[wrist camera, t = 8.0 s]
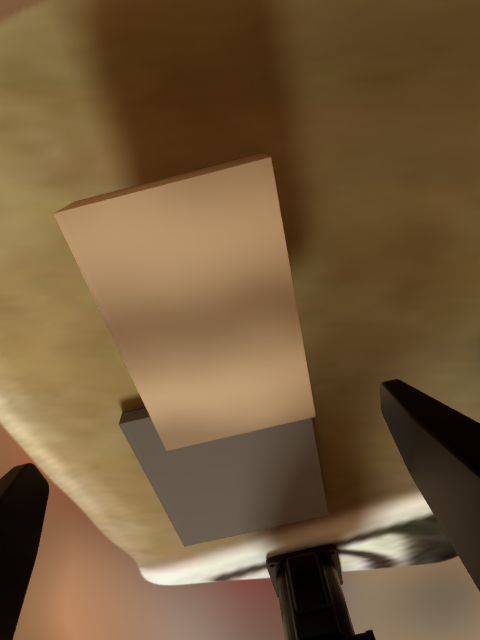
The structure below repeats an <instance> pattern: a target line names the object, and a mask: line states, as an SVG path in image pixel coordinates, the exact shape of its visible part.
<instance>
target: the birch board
mask: <svg viewBox="0 0 480 640" xmlns="http://www.w3.org/2000/svg"><path fill="white" fill-rule="evenodd" d="M54 216H55V218H56V220H57V222H58V224H59V226H60V228H61V230H62V232H63V235H64V237H65V239H66V241H67V243H68V245H69V247H70V249H71V251H72V253H73V256H74V258H75V260H76V262H77V264H78V266H79V268H80V270H81V272H82V275H83V277H84V279H85V281H86V283H87V285H88V287H89V289H90V291H91V293H92V296H93V298H94V300H95V302H96V304H97V306H98V308H99V310H100V312H101V314H102V317H103V319H104V321H105V323H106V325H107V327H108V329H109V331H110V333H111V335H112V338H113V340H114V342H115V344H116V346H117V348H118V350H119V352H120V354H121V356H122V359H123V361H124V363H125V365H126V367H127V369H128V371H129V373H130V375H131V377H132V380H133V382H134V384H135V386H136V388H137V390H138V392H139V394H140V396H141V398H142V401H143V403H144V405H145V407H146V409H147V411H148V413H149V415H150V417H151V419H152V422H153V424H154V426H155V428H156V430H157V432H158V434H159V436H160V438H161V440H162V443H163V445H164V447H165V449H166V451H169V450H173V449H177V448H182V447H186V446H190V445H195V444H199V443H203V442H208V441H212V440H216V439H221V438H225V437H230V436H234V435H238V434H243V433H247V432H251V431H256V430H260V429H264V428H269V427H273V426H277V425H282V424H286V423H290V422H295V421H299V420H304V419H308V418H312V417H316V415H315V409H314V403H313V397H312V391H311V386H310V380H309V374H308V368H307V362H306V357H305V351H304V345H303V339H302V333H301V328H300V322H299V316H298V310H297V304H296V299H295V293H294V287H293V281H292V275H291V270H290V264H289V258H288V252H287V246H286V241H285V235H284V229H283V223H282V218H281V212H280V206H279V200H278V194H277V189H276V183H275V177H274V171H273V165H272V160H271V157H270V156H268V155H266V154H264V153H260V154H256V155H252V156H248V157H245V158H241V159H237V160H233V161H229V162H225V163H222V164H218V165H214V166H210V167H206V168H202V169H199V170H195V171H191V172H187V173H183V174H179V175H175V176H172V177H168V178H164V179H160V180H156V181H152V182H149V183H145V184H141V185H137V186H133V187H129V188H125V189H122V190H118V191H114V192H110V193H106V194H102V195H99V196H95V197H91V198H87V199H83V200H79V201H75V202H73V203H71V204H69V205H68V206H66V207H64V208H62V209H61V210H59V211H57V212H55V213H54Z"/></svg>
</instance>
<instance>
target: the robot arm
mask: <svg viewBox="0 0 480 640" xmlns="http://www.w3.org/2000/svg"><path fill="white" fill-rule="evenodd" d="M380 398H381V410H382V414H383V416H384V419H385V421H386V423H387V425H388V427H389V430H390V432H391V434H392V436H393V438H394V441H395V443H396V445H397V447H398V449H399V452H400V454H401V456H402V458H403V460H404V463H405V465H406V467H407V469H408V471H409V473H410V475H411V476H412V478H413V480H414V482H415V484H416V485H417V487H418V489H419V490H420V492H421V494H422V495H423V497H424V499H425V500H426V502H427V504H428V505H429V507H430V509H431V510H432V512H433V514H434V515H435V517H436V519H437V521H438V522H439V524H440V526H441V527H442V529H443V531H444V532H445V534H446V536H447V537H448V539H449V541H450V542H451V544H452V546H453V547H454V549H455V551H456V552H457V554H458V556H459V557H460V559H461V561H462V563H463V564H464V566H465V567H466V569H467V571H468V573H469V574H470V576H471V578H472V579H473V581H474V583H475V584H476V586H477V588H478V589H479V591H480V423H478V422H476V421H474V420H473V419H471V418H469V417H467V416H465V415H463V414H461V413H460V412H458V411H456V410H454V409H452V408H450V407H449V406H447V405H445V404H443V403H441V402H439V401H438V400H436V399H434V398H432V397H430V396H428V395H426V394H425V393H423V392H421V391H419V390H417V389H415V388H414V387H412V386H410V385H408V384H406V383H404V382H402V381H401V380H398V379H394V380H389V381H385V382H382V383H381V385H380ZM48 495H49V485H48V482H47V481H46V479H45V478H44V477H43V475H42V474H41V473H40V471H39V470H38V469H37V467H36V466H35V465H34V464H32V463H27V464H22V465H18V466H15V467H14V468H12V469H11V470H10V471H9V472H8V473H6V475H4V476H3V477H2V478H1V479H0V640H13V637H14V633H15V630H16V626H17V623H18V619H19V616H20V612H21V608H22V605H23V602H24V598H25V595H26V591H27V588H28V584H29V581H30V577H31V574H32V571H33V567H34V564H35V560H36V556H37V552H38V547H39V542H40V537H41V532H42V527H43V521H44V516H45V510H46V505H47V500H48ZM266 565H267V569H268V572H269V575H270V577H271V580H272V583H273V586H274V588H275V591H276V594H277V597H278V598H279V602H280V609H281V615H282V622H283V629H284V635H285V640H375V637H374V634H373V631H372V630H368V631H366V632H365V633H361V634H356V635H355V632H354V629H353V625H352V623H351V619H350V615H349V612H348V608H347V605H346V601H345V598H344V594H343V591H342V588H341V585H342V584H343V581H342V575H341V569H340V563H339V558H338V552H337V549H336V546H334V545H330V546H325V547H320V548H315V549H311V550H306V551H301V552H297V553H292V554H287V555H283V556H278V557H273V558H269V559H267V560H266Z"/></svg>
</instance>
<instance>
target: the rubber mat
mask: <svg viewBox="0 0 480 640" xmlns="http://www.w3.org/2000/svg"><path fill="white" fill-rule="evenodd" d="M119 425H120V427H121V429H122V431H123V433H124V435H125V437H126V438H127V440H128V442H129V444H130V446H131V448H132V450H133V452H134V453H135V455H136V457H137V459H138V461H139V463H140V465H141V466H142V468H143V470H144V472H145V474H146V476H147V478H148V479H149V481H150V483H151V485H152V487H153V489H154V491H155V493H156V494H157V496H158V498H159V500H160V502H161V504H162V506H163V507H164V509H165V511H166V513H167V515H168V517H169V519H170V521H171V522H172V524H173V526H174V528H175V530H176V532H177V534H178V535H179V537H180V539H181V541H182V543H183V545H184V547H185V546H189V545H194V544H199V543H203V542H208V541H213V540H217V539H222V538H226V537H231V536H236V535H240V534H245V533H250V532H254V531H259V530H263V529H268V528H273V527H277V526H282V525H286V524H291V523H296V522H300V521H305V520H310V519H314V518H319V517H323V516H328V515H329V514H328V508H327V502H326V497H325V491H324V485H323V480H322V474H321V468H320V462H319V457H318V451H317V445H316V440H315V434H314V428H313V423H312V418H308V419H304V420H299V421H295V422H290V423H286V424H282V425H277V426H273V427H269V428H264V429H260V430H256V431H251V432H247V433H243V434H238V435H234V436H230V437H225V438H221V439H216V440H212V441H208V442H203V443H199V444H195V445H190V446H186V447H182V448H177V449H173V450H169V451H166V449H165V447H164V445H163V443H162V440H161V438H160V436H159V434H158V432H157V430H156V428H155V426H154V424H153V422H152V419H151V417H150V415H149V413H148V411H147V409H146V408H142V409H138V410H134V411H129V412H125V413H122V415H121V419H120V422H119Z"/></svg>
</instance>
